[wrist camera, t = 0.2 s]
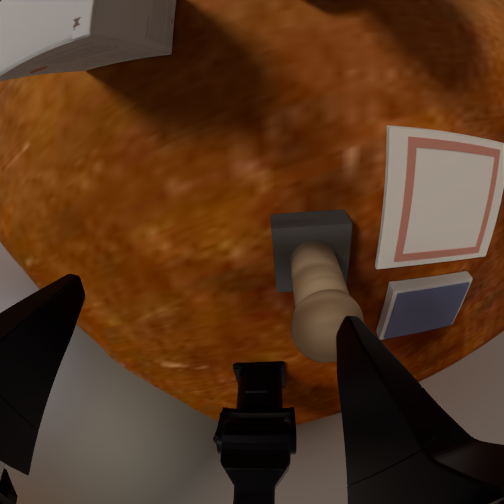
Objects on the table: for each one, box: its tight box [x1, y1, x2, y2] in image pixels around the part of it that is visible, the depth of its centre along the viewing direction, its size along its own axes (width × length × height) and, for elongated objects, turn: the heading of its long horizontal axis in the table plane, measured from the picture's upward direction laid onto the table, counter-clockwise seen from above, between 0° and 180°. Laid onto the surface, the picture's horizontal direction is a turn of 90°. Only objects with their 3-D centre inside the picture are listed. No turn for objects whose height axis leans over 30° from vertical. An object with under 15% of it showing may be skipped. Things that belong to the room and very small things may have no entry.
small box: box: [0, 0, 176, 81], centre depth 9 cm, size 8×6×10 cm
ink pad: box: [376, 271, 473, 340], centre depth 26 cm, size 8×11×2 cm
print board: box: [375, 125, 504, 269], centre depth 20 cm, size 13×15×1 cm
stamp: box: [271, 210, 364, 362], centre depth 18 cm, size 6×6×12 cm
